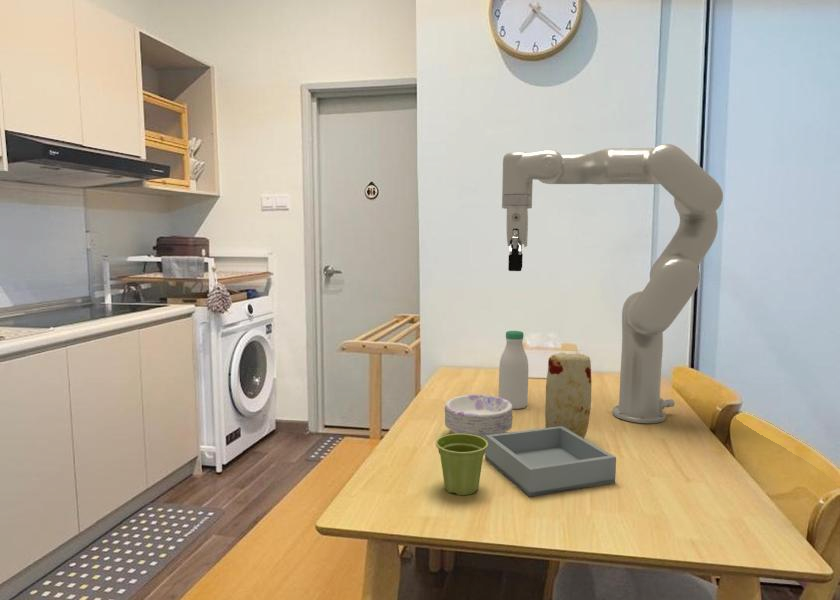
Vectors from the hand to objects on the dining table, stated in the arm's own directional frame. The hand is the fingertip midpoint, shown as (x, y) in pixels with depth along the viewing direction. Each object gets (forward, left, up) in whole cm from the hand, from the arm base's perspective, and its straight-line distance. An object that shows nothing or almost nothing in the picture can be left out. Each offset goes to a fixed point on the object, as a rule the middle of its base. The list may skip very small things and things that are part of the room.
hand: (515, 269), depth 148 cm
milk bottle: (-1, -1, -37) cm, 37 cm away
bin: (+13, +39, -36) cm, 55 cm away
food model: (0, +26, -37) cm, 45 cm away
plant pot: (+32, +41, -37) cm, 63 cm away
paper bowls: (+18, +18, -37) cm, 44 cm away
